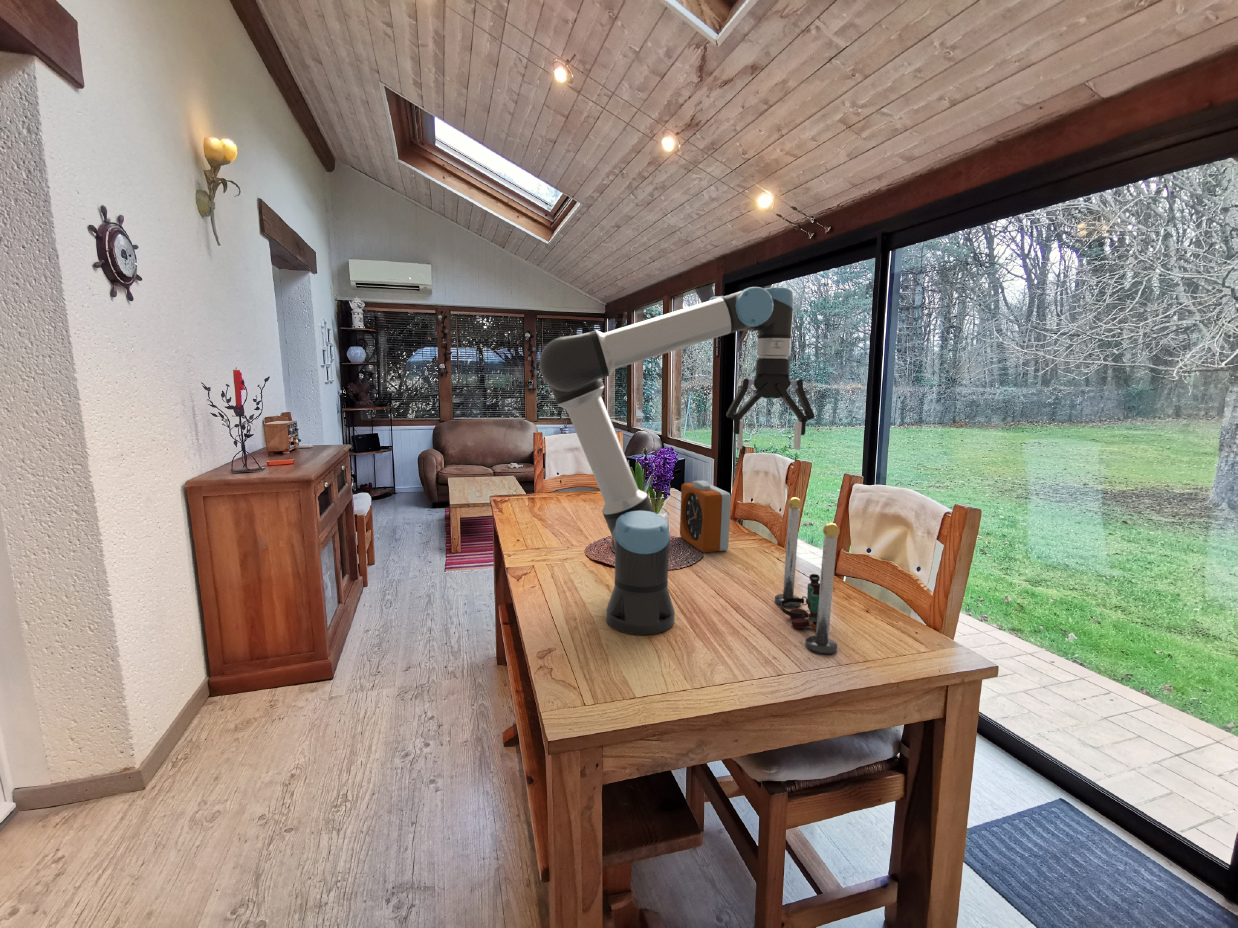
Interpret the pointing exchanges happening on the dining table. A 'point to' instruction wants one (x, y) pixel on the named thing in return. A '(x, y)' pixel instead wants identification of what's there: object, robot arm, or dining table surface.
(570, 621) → the dining table surface
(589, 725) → the dining table surface
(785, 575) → the post far
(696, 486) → the alarm clock
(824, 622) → the post near
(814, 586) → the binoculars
